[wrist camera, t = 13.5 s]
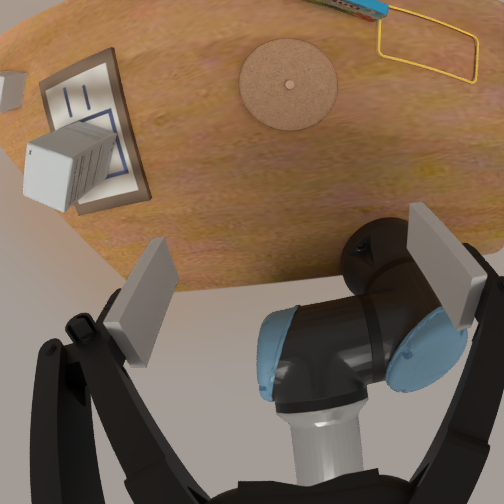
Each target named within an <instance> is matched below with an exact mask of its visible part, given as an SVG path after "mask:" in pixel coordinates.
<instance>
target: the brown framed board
mask: <svg viewBox="0 0 504 504" xmlns="http://www.w3.org/2000/svg"><path fill="white" fill-rule="evenodd" d="M39 86H40V91H41V96H42V100H43V104H44V108H45V112H46V116H47V120H48V124H49V128H50V131H51V132H53V131H55V130H58V129H60V128H63V127H65V126H68V125H70V124H73V123H76V122H78V121H79V122H83V123H86V124H89V125H92V126H96V127H99V128H102V129H105V130H108V131H111V132H114V133H116V134H117V136H116V140H115V144H114V148H113V152H112V156H111V160H110V164H109V169H108V173H107V177H106V178H105V179H104V180H103V181H101V182H100V183H99V184H98V185H96V186H95V187H94V188H93V189H91V190H90V191H89V192H88V193H86V194H85V195H84V196H83V197H82V198H80V199H79V200H78V201H77V202H76V203H75V204H74V205H75V208H76V210H77V213H78V215H79V216H80V215H84V214H89V213H93V212H97V211H101V210H106V209H110V208H115V207H119V206H124V205H129V204H133V203H138V202H143V201H148V200H150V199H151V198H152V196H151V193H150V190H149V186H148V183H147V180H146V176H145V173H144V169H143V166H142V162H141V159H140V155H139V151H138V148H137V144H136V140H135V137H134V133H133V129H132V125H131V121H130V117H129V113H128V109H127V105H126V101H125V97H124V92H123V88H122V84H121V79H120V75H119V70H118V65H117V60H116V56H115V51H114V48H108V49H106V50H103V51H101V52H99V53H96V54H94V55H92V56H90V57H88V58H85V59H83V60H81V61H79V62H77V63H75V64H73V65H71V66H69V67H67V68H65V69H63V70H61V71H59V72H57V73H55V74H53V75H51V76H50V77H48V78H46V79H44V80H42V81H41V82H39Z"/></svg>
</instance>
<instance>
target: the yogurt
mask: <svg viewBox="0 0 504 504" xmlns="http://www.w3.org/2000/svg"><path fill="white" fill-rule="evenodd" d="M303 1H307V2H311V3H314V4H318V5H322V6H325V7H328V8H332V9H335V10H338V11H341V12H344V13H347V14H350V15H353V16H356V17H359V18H362V19H365V20H367V21H370V22H375V21H377V20H379V19H382V18H384V17H386V16H387V13H388V9H389V5H387V4H385V3H382V2H380V1H377V0H303Z"/></svg>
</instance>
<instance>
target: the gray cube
mask: <svg viewBox="0 0 504 504" xmlns="http://www.w3.org/2000/svg"><path fill="white" fill-rule="evenodd" d="M27 74H28V73H24V72H15V71H1V72H0V113H2V112H6V111H9V110H12V109H15V108H18V107H22V102H23V96H24V90H25V84H26V79H27Z"/></svg>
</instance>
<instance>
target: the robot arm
mask: <svg viewBox="0 0 504 504" xmlns="http://www.w3.org/2000/svg"><path fill="white" fill-rule="evenodd" d="M341 270H342V274H343V277H344V280H345V283H346V285H347V286H348V288H349V289H350V291H351V292H352V293H353V294H354V295H355V296H350V297H346V298H341V299H337V300H331V301H326V302H321V303H315V304H310V305H304V306H300V305H296V306H295V307H293V308H289V309H285V310H280V311H276V312H272V313H271V314H269V315H268V316H267V317H266V318H265V319H264V321H263V323H262V325H261V328H260V333H259V338H258V345H257V380H258V384H259V391H260V394H261V397H262V398H263V399H264V400H267V401H269V402H273V401H275V405H276V413H277V415H278V416H279V417H281V418H282V419H283V420H285V421H286V422H288V424H289V425H290V427H291V435H292V443H293V452H294V461H295V469H296V478H297V485H293V484H287V483H281V482H275V481H238V488H235V489H232V490H229V491H226V492H224V493H221V494H219V495H217V496H215V497H213V498H212V499H211V498H210V497H209V496H208V495H207V494H206V493H205V492H204V491H203V489H202V488H201V487H200V486H199V485H198V484H197V483H196V481H195V480H194V479H193V477H192V476H191V475H190V473H189V472H188V471H187V469H186V468H185V466H184V465H183V463H182V462H181V461H180V459H179V458H178V456H177V455H176V453H175V452H174V450H173V449H172V447H171V446H170V444H169V443H168V441H167V440H166V438H165V437H164V435H163V433H162V432H161V430H160V429H159V427H158V426H157V424H156V422H155V421H154V419H153V417H152V416H151V414H150V412H149V411H148V409H147V407H146V406H145V404H144V402H143V400H142V399H141V397H140V395H139V394H138V392H137V390H136V388H135V386H134V384H133V382H132V380H131V379H130V377H129V375H128V373H127V371H126V369H125V368H124V367H123V365H124V362H125V360H127V362H128V363H129V365H130V366H131V367H133V368H146V367H147V364H148V361H149V358H150V356H151V353H152V350H153V347H154V344H155V341H156V339H157V336H158V333H159V330H160V327H161V325H162V322H163V319H164V317H165V314H166V311H167V308H168V306H169V303H170V300H171V298H172V295H173V293H174V290H175V287H176V285H177V282H178V280H179V276H178V273H177V270H176V268H175V265H174V262H173V259H172V257H171V254H170V251H169V248H168V245H167V243H166V240H165V237H158V238H152V239H151V241H150V242H149V244H148V246H147V247H146V249H145V250H144V252H143V254H142V255H141V257H140V259H139V260H138V262H137V264H136V265H135V267H134V269H133V270H132V272H131V274H130V275H129V277H128V279H127V281H126V282H125V284H124V286H123V287H122V288H120V289H117V290H116V291H115V292H114V293H113V294H112V295H111V296H110V298H109V300H108V301H107V304H106V305H105V307H104V308H103V309H104V310H102V312H101V314H100V315H99V317H98V319H97V321H96V323H95V322H94V320H93V318H92V317H91V315H90V314H89V313H80V314H78V315H76V316H74V317H73V318H72V319H70V320H69V322H68V323H67V325H66V327H65V331H66V333H67V334H68V336H69V337H70V339H71V340H72V341H73V343H72V344H69V345H65V346H64V345H63V344H62V342H61V341H60V340H59V339H56V338H54V339H50V340H49V341H47V342H45V343H44V344H43V345H42V347H41V348H40V350H39V354H38V360H37V366H36V374H35V381H34V390H33V400H32V412H31V428H30V485H31V501H32V504H105V500H104V496H103V490H102V485H101V480H100V474H99V468H98V462H97V455H96V447H95V439H94V430H93V421H92V410H91V397H92V399H93V402H94V405H95V407H96V410H97V412H98V415H99V417H100V420H101V422H102V425H103V427H104V430H105V432H106V434H107V437H108V439H109V441H110V443H111V445H112V448H113V450H114V452H115V454H116V456H117V458H118V460H119V462H120V464H121V466H122V469H123V470H124V472H125V474H126V478H127V479H126V480H125V481H124V484H125V487H126V489H127V491H128V493H129V495H130V497H131V499H132V500H133V502H134V504H467V502H468V500H469V498H470V496H471V494H472V492H473V490H474V488H475V485H476V483H477V481H478V479H479V476H480V474H481V472H482V469H483V467H484V464H485V462H486V460H487V457H488V454H489V451H490V445H489V444H488V440H489V437H490V434H491V431H492V428H493V425H494V421H495V418H496V415H497V412H498V409H499V405H500V401H501V398H502V394H503V390H504V276H498V274H497V273H496V272H495V270H494V269H493V268H492V267H491V266H490V265H489V263H488V262H487V261H485V259H484V258H483V256H481V254H480V253H479V252H478V251H477V250H476V249H475V248H474V247H473V246H471V245H469V244H468V243H462V244H461V243H460V241H459V240H458V239H457V238H456V237H455V236H454V235H453V234H452V233H451V231H450V230H449V229H448V228H447V227H446V226H445V225H444V224H443V223H442V222H441V221H440V220H439V219H438V218H437V217H436V216H435V215H434V214H433V213H432V212H431V211H430V210H429V209H428V208H427V207H426V206H425V205H424V204H423V203H422V202H416V203H409V222H407V221H405V220H402V219H398V218H383V219H379V220H375V221H373V222H370V223H368V224H366V225H365V226H363V227H362V228H360V229H359V230H358V231H357V232H356V233H355V234H354V235H353V236H352V237H351V238H350V239H349V241H348V242H347V244H346V246H345V248H344V250H343V253H342V257H341ZM474 317H475V318H476V320H477V321H478V326H477V329H476V331H475V334H474V336H473V339H472V345H471V349H470V352H469V355H468V358H467V361H466V364H465V367H464V370H463V373H462V375H461V378H460V381H459V383H458V386H457V389H456V391H455V393H454V396H453V399H452V401H451V403H450V406H449V408H448V410H447V413H446V415H445V417H444V419H443V421H442V423H441V426H440V428H439V430H438V432H437V434H436V436H435V438H434V440H433V442H432V444H431V446H430V448H429V450H428V451H427V453H426V455H425V457H424V459H423V461H422V462H421V464H420V466H419V467H418V468H417V470H416V472H415V473H414V475H413V476H412V478H411V479H410V481H409V482H408V481H406V480H403V479H401V478H398V477H394V476H389V475H379V472H378V468H376V469H371V470H366V471H364V470H363V458H362V447H361V437H360V427H359V419H358V414H359V411H360V409H361V408H362V407H363V406H364V404H365V403H366V402H367V400H368V393H367V384H371V383H376V382H379V381H385V380H386V382H387V385H389V386H390V388H391V389H393V390H394V391H396V392H400V391H401V392H403V393H404V392H405V393H407V392H413V391H416V390H419V389H422V388H424V387H426V386H428V385H430V384H432V383H434V382H435V381H437V380H438V379H440V378H441V377H442V376H443V375H445V374H446V373H447V372H448V371H449V370H450V369H451V368H452V367H453V366H454V365H455V364H456V363H457V361H458V360H459V359H460V357H461V355H462V353H463V351H464V349H465V347H466V344H467V338H468V332H467V328H470V327H471V325H472V323H473V320H474Z"/></svg>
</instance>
